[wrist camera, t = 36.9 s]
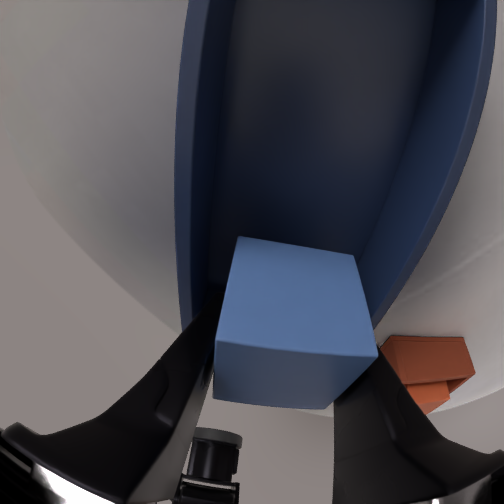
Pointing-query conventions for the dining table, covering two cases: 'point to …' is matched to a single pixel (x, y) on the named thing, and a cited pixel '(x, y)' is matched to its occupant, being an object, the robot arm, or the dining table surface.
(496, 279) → the dining table surface
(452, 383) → the terracotta bin
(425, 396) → the terracotta block
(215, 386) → the slate block
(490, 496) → the robot arm
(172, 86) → the dining table surface
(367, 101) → the slate bin
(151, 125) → the dining table surface
